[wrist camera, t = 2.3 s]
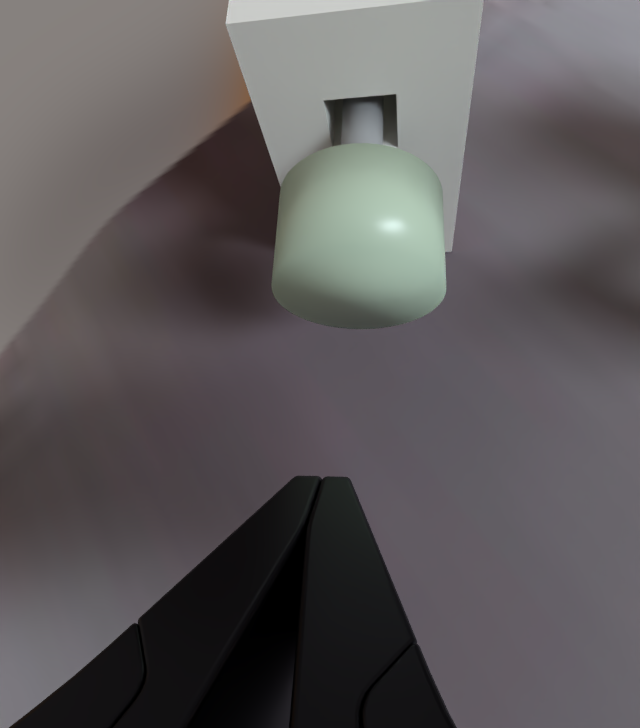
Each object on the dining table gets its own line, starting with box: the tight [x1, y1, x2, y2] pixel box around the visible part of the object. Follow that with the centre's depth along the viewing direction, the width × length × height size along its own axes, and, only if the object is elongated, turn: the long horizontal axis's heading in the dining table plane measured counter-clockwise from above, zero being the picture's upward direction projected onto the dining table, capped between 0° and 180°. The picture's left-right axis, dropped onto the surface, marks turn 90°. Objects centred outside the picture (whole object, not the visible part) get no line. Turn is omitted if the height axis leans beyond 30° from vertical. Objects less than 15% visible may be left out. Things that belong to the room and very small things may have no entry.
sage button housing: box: [226, 0, 484, 252], centre depth 18 cm, size 5×6×10 cm
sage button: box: [272, 95, 446, 329], centre depth 15 cm, size 6×4×4 cm
